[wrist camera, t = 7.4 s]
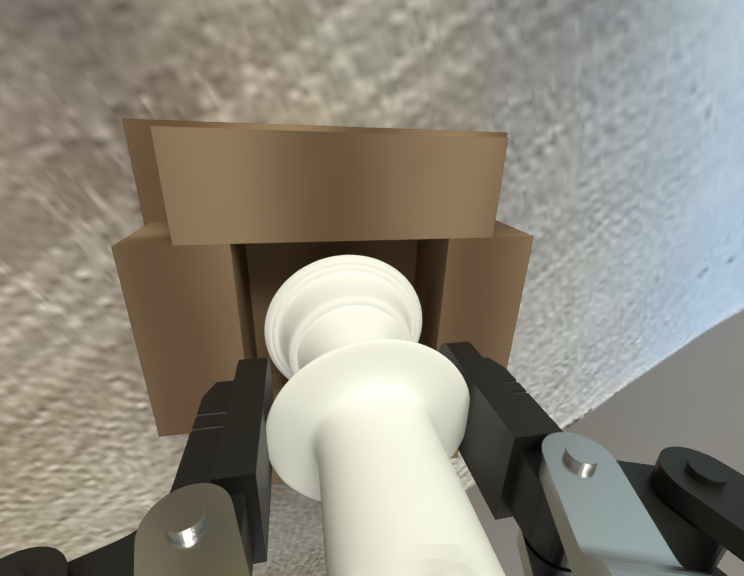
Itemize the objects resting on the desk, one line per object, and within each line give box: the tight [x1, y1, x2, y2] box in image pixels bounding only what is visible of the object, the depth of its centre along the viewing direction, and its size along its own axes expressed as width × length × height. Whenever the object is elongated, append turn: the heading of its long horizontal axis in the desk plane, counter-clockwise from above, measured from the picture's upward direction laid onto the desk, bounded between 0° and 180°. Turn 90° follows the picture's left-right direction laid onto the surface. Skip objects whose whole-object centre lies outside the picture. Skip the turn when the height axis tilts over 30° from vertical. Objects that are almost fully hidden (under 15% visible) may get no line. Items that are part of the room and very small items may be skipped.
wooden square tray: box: [111, 119, 534, 485], centre depth 14 cm, size 13×13×4 cm
